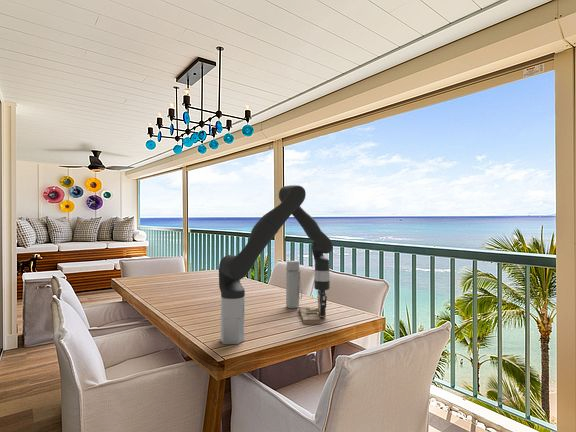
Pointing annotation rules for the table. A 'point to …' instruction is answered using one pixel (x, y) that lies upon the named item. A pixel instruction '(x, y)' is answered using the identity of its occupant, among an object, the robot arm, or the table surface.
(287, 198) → the robot arm
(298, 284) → the water bottle
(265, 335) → the table surface
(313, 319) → the plank
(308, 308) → the gauge
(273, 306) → the table surface
